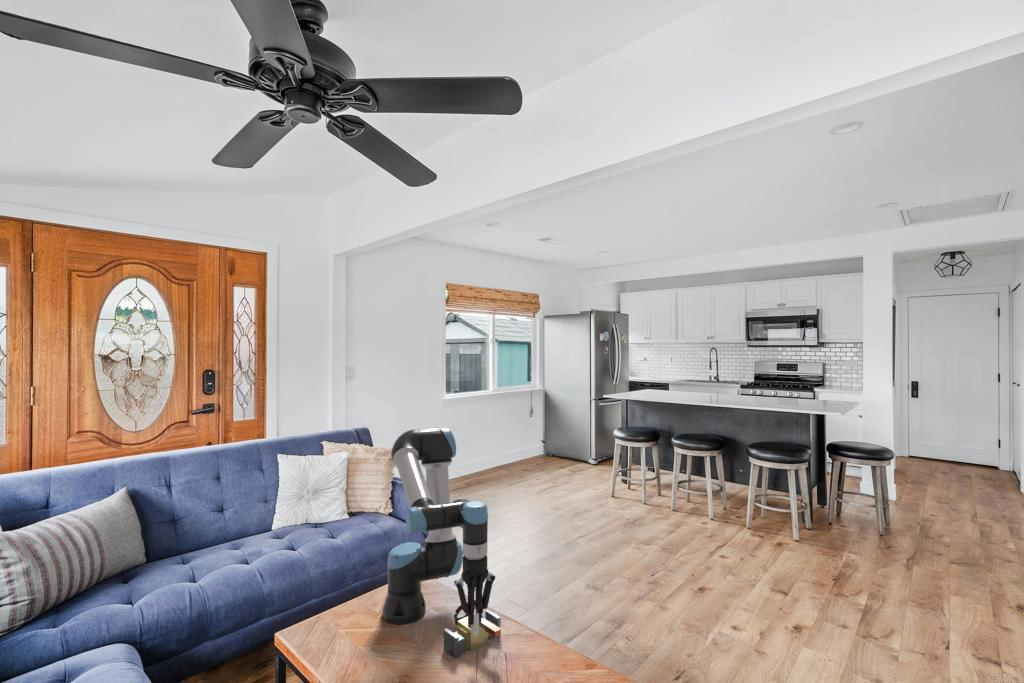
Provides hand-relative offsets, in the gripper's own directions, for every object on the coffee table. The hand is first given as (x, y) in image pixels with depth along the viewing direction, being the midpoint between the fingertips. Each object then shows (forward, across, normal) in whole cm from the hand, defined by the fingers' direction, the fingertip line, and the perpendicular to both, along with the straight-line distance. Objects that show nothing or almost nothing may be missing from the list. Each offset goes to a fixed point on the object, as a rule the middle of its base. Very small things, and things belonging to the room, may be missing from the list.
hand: (474, 633), depth 150 cm
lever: (+1, +5, +4) cm, 6 cm away
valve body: (+8, +3, +9) cm, 13 cm away
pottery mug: (+9, +7, +20) cm, 23 cm away
